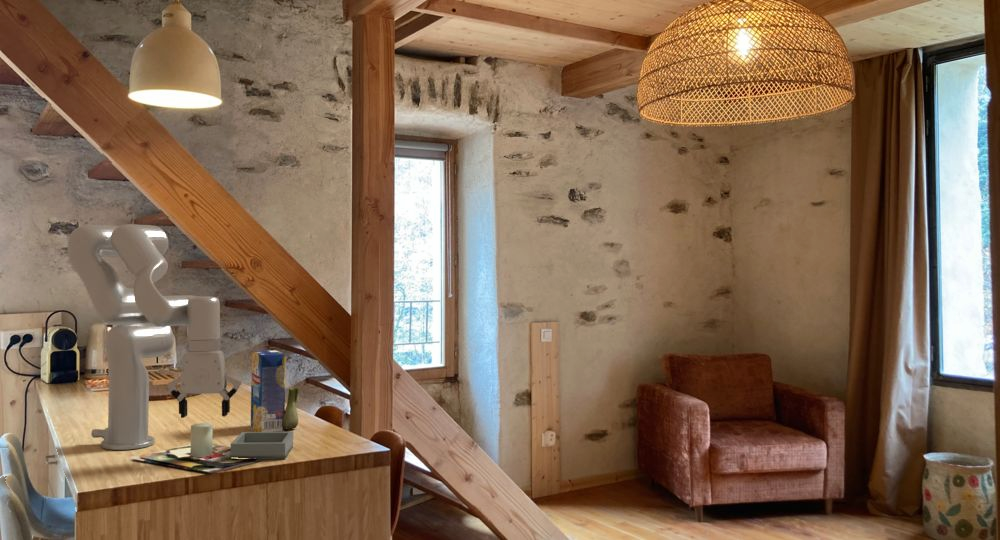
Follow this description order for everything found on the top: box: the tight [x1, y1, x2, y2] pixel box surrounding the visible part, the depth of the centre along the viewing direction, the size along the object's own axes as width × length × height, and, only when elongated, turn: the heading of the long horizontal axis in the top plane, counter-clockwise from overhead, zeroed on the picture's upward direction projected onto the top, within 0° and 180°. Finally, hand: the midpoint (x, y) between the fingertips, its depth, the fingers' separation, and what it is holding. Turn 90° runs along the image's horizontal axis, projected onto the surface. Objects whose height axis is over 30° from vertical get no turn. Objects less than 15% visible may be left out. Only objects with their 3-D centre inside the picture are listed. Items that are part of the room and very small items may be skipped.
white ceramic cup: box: [189, 422, 214, 457], centre depth 192 cm, size 5×5×8 cm
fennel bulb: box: [282, 387, 300, 430], centre depth 226 cm, size 6×5×12 cm
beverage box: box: [250, 349, 286, 432], centre depth 227 cm, size 7×11×22 cm, turn 32°
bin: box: [230, 431, 294, 461], centre depth 198 cm, size 13×13×4 cm
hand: (204, 416), depth 192 cm, fingers open, 9 cm apart
